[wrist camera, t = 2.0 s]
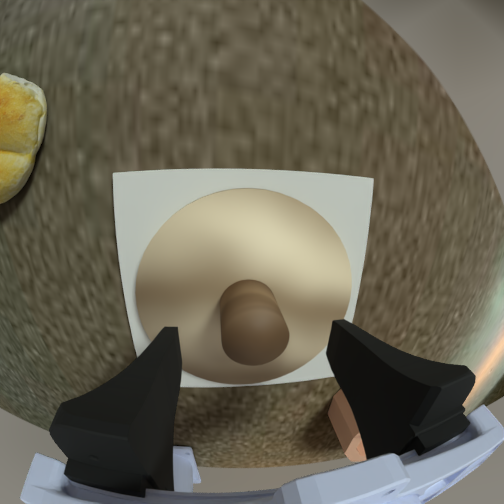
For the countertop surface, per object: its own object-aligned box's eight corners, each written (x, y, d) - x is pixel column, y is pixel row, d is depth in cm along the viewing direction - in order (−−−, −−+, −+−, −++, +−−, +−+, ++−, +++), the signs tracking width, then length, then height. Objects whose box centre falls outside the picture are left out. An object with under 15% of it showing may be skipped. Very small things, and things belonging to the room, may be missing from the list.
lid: (329, 368, 19) (349, 406, 15) (155, 377, 18) (146, 421, 14) (358, 193, 15) (400, 205, 11) (129, 190, 14) (98, 201, 10)
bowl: (398, 413, 24) (417, 442, 20) (320, 434, 23) (334, 471, 19) (430, 346, 21) (459, 376, 17) (342, 366, 20) (367, 409, 15)
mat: (335, 371, 20) (338, 375, 20) (146, 380, 18) (144, 385, 18) (369, 177, 16) (373, 178, 15) (116, 172, 14) (112, 173, 13)
